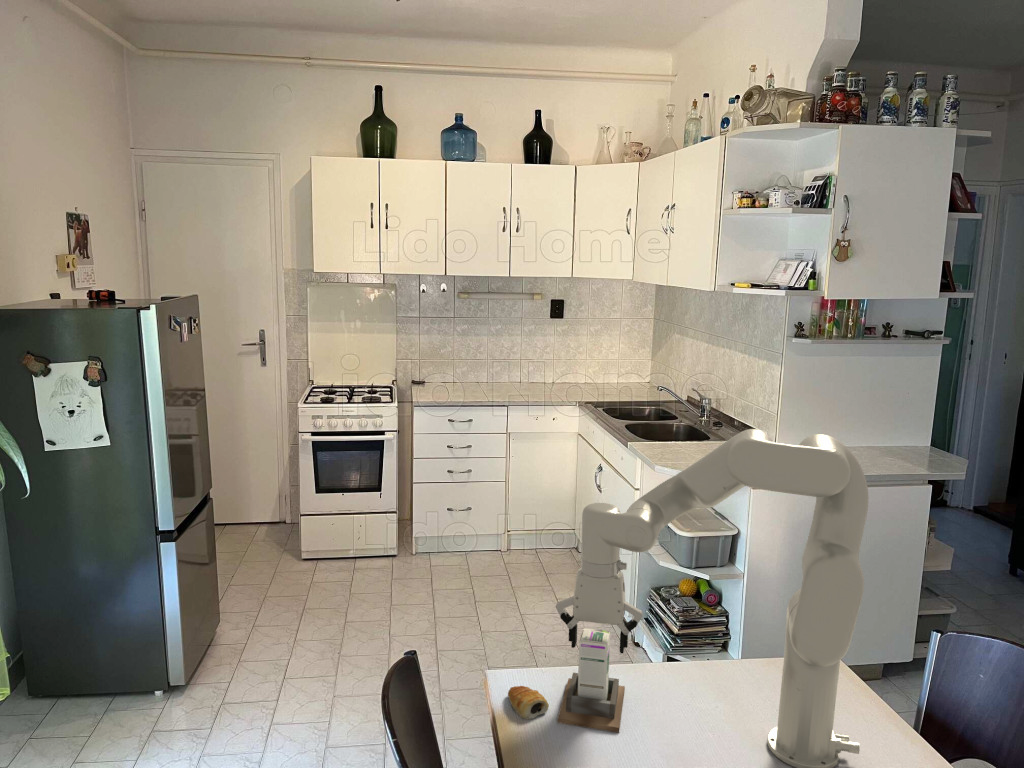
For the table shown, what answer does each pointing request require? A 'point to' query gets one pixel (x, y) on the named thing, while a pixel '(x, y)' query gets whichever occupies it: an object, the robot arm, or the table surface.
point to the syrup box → (594, 664)
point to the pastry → (527, 702)
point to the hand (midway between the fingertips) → (597, 647)
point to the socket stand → (592, 707)
